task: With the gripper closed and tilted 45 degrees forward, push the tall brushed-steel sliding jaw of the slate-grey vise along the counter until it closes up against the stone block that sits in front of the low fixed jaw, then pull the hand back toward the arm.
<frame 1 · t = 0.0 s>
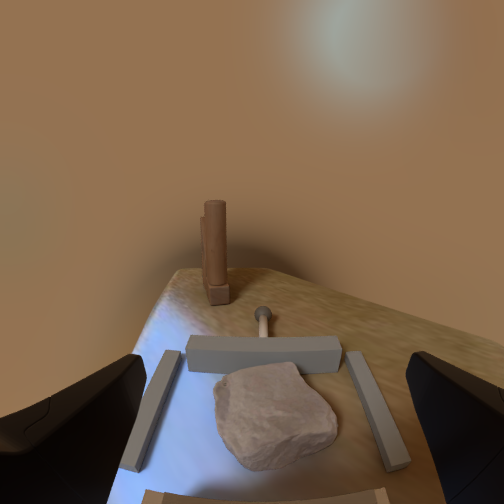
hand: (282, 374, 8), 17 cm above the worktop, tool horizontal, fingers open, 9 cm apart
wooden block: (215, 294, 54), on the worktop
stone block: (265, 424, 24), on the worktop
vise body: (263, 367, 32), on the worktop
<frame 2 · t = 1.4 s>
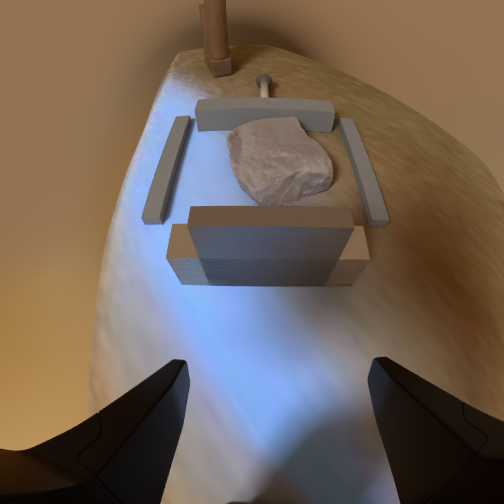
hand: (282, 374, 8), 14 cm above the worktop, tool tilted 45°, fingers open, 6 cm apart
wooden block: (217, 68, 47), on the worktop
stone block: (272, 168, 32), on the worktop
sliding jaw: (269, 244, 21), point 5 cm above the worktop, slide at 0.0 cm
vise body: (264, 123, 36), on the worktop
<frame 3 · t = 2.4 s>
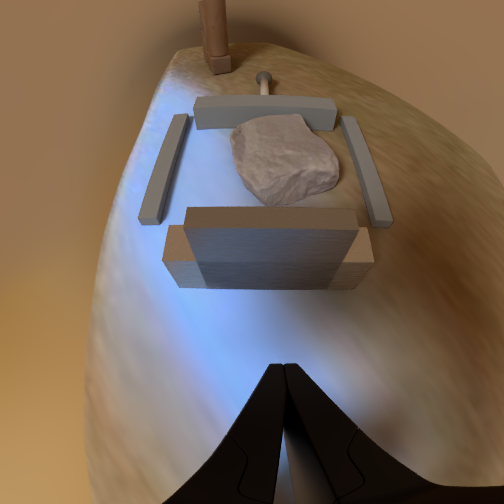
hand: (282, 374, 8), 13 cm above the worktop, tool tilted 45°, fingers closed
wooden block: (217, 66, 46), on the worktop
stone block: (276, 167, 31), on the worktop
sliding jaw: (269, 246, 20), point 4 cm above the worktop, slide at 0.0 cm
vise body: (265, 121, 35), on the worktop
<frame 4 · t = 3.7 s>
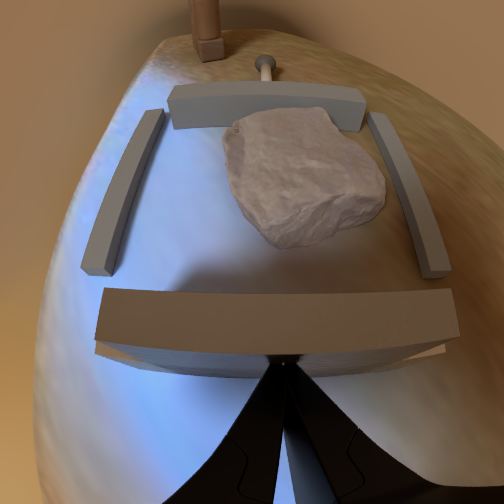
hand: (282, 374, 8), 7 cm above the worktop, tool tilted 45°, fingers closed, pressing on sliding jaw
wooden block: (208, 53, 36), on the worktop
stone block: (290, 183, 21), on the worktop
sliding jaw: (277, 334, 11), point 5 cm above the worktop, slide at 0.7 cm, touching gripper
vise body: (267, 117, 25), on the worktop
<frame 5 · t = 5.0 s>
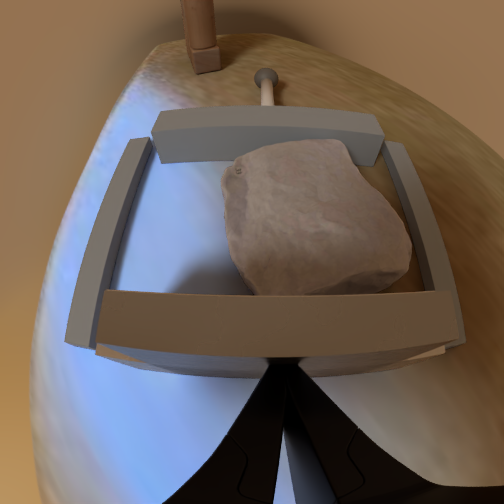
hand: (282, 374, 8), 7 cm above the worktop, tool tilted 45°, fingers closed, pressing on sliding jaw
wooden block: (203, 62, 34), on the worktop
stone block: (299, 235, 19), on the worktop, touching sliding jaw, vise body
sliding jaw: (277, 335, 11), point 4 cm above the worktop, slide at 5.8 cm, touching gripper, stone block
vise body: (268, 148, 23), on the worktop
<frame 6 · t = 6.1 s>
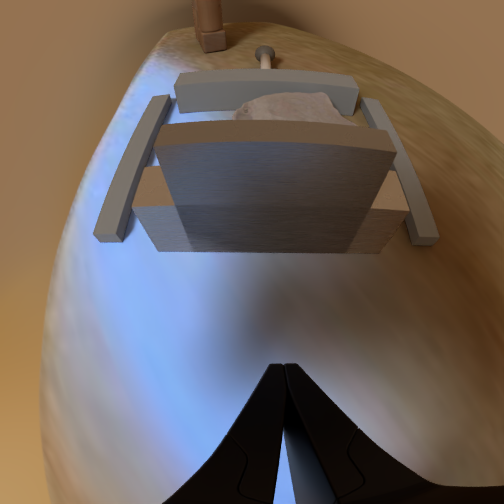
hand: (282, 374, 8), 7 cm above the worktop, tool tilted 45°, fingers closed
wooden block: (210, 44, 37), on the worktop
stone block: (293, 159, 23), on the worktop
sliding jaw: (273, 188, 15), point 4 cm above the worktop, slide at 5.8 cm
vise body: (266, 102, 26), on the worktop
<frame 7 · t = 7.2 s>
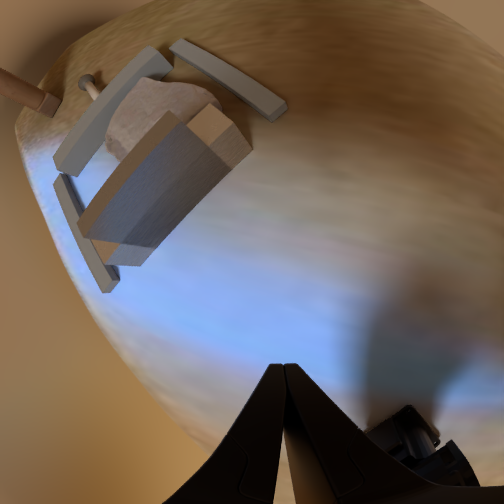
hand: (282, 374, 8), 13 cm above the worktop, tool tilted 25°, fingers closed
wooden block: (49, 106, 35), on the worktop
stone block: (163, 135, 27), on the worktop
sliding jaw: (154, 185, 20), point 4 cm above the worktop, slide at 5.8 cm
vise body: (116, 116, 28), on the worktop
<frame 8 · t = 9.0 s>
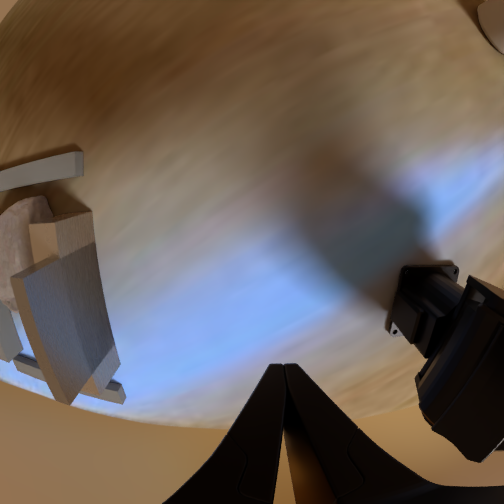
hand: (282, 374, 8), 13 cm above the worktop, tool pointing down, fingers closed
can: (494, 33, 13), on the worktop
stone block: (33, 257, 22), on the worktop
sliding jaw: (63, 317, 18), point 5 cm above the worktop, slide at 5.8 cm
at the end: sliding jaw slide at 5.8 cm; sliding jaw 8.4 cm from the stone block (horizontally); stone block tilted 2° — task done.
